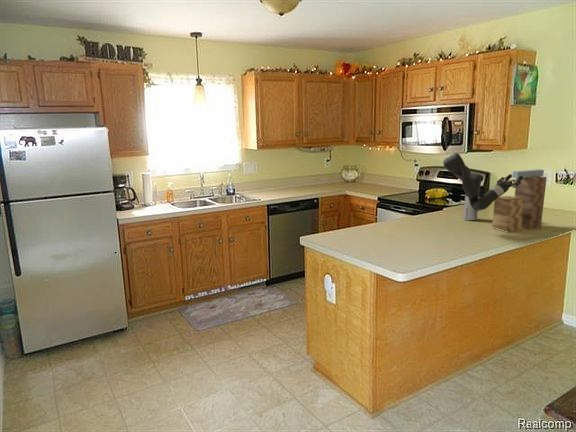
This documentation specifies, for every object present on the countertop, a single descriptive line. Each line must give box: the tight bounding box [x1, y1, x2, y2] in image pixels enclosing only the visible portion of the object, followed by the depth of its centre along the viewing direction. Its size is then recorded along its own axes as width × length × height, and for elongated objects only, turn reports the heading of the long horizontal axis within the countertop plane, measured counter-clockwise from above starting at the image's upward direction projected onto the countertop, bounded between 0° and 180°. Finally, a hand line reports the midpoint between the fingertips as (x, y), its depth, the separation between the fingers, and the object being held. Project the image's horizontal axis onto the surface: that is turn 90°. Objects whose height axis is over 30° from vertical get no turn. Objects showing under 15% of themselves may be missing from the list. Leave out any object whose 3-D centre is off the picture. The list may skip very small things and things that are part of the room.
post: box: [514, 176, 547, 230], centre depth 279 cm, size 10×14×34 cm
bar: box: [511, 168, 545, 179], centre depth 274 cm, size 22×4×4 cm, turn 109°
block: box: [491, 195, 524, 232], centre depth 275 cm, size 12×12×21 cm
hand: (516, 176), depth 271 cm, fingers open, 8 cm apart
